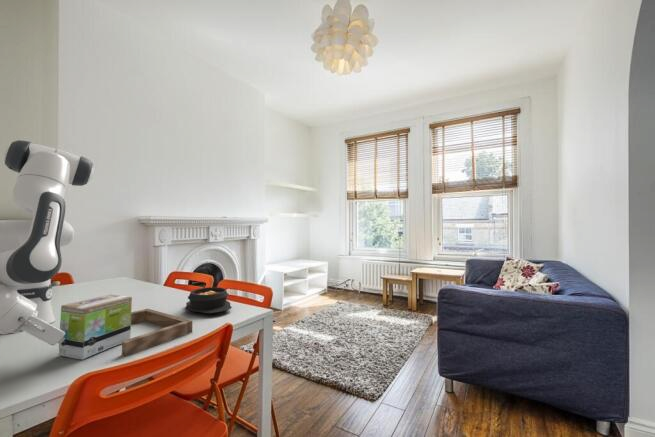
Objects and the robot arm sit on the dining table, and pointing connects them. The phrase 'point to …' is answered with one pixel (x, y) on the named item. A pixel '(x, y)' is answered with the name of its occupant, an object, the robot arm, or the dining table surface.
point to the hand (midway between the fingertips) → (61, 340)
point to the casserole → (208, 300)
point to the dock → (171, 331)
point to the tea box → (94, 325)
